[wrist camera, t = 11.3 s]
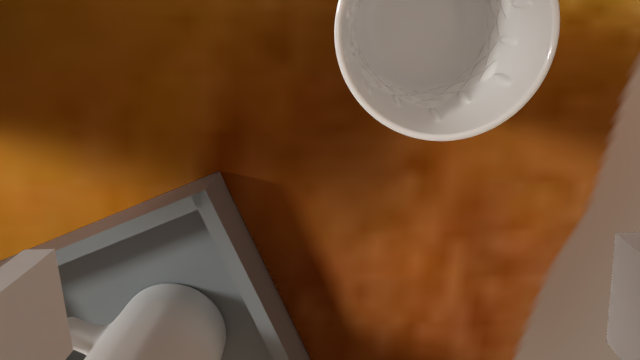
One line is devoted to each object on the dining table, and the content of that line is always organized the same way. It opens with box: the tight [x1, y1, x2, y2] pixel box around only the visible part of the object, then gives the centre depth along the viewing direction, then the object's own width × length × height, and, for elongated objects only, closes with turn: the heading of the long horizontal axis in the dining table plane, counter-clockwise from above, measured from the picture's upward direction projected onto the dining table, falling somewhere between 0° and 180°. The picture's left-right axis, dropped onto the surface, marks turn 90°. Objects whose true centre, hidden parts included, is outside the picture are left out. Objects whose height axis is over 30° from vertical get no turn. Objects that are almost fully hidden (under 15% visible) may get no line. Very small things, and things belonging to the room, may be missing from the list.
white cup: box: [334, 0, 560, 141], centre depth 26 cm, size 8×8×10 cm
